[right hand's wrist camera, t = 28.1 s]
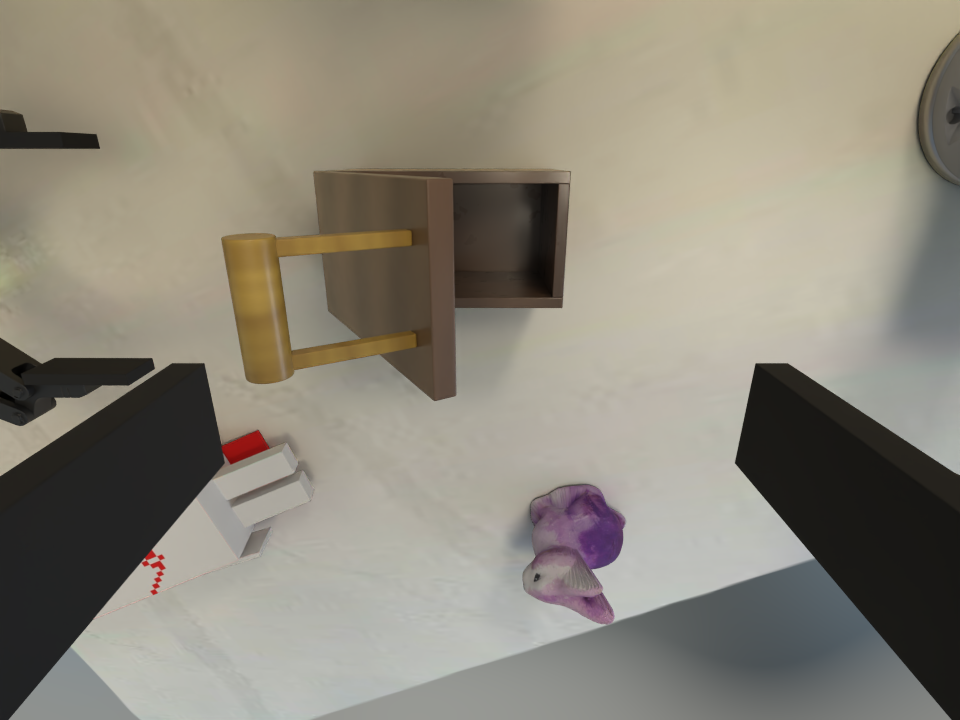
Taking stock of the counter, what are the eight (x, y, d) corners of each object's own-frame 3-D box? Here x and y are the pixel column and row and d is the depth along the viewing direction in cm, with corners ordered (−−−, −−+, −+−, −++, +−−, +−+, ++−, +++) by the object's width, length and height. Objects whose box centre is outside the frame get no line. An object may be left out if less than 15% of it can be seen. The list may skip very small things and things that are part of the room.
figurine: (508, 517, 61) (516, 624, 47) (571, 463, 58) (600, 559, 44) (563, 560, 63) (587, 674, 49) (626, 510, 60) (671, 615, 46)
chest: (550, 169, 47) (570, 171, 37) (545, 278, 51) (562, 308, 40) (358, 168, 47) (324, 170, 37) (367, 278, 51) (338, 307, 40)
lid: (453, 178, 22) (216, 182, 17) (457, 396, 25) (261, 444, 21) (330, 170, 36) (186, 172, 32) (344, 309, 40) (216, 326, 36)
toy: (315, 548, 51) (31, 664, 50) (334, 477, 63) (107, 570, 63) (253, 447, 46) (-55, 573, 46) (287, 393, 59) (44, 492, 59)
